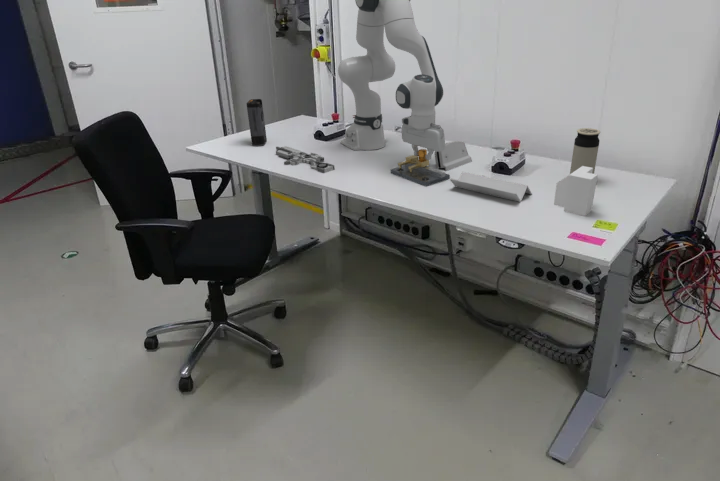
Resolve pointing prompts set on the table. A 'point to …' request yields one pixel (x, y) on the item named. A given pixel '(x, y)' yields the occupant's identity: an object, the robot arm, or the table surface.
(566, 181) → the corner bracket
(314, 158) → the gun
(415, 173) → the bolt plate
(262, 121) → the electronic device
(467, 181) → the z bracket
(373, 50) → the robot arm
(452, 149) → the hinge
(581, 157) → the travel mug
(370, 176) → the table surface
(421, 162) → the sliding leg
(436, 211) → the table surface
